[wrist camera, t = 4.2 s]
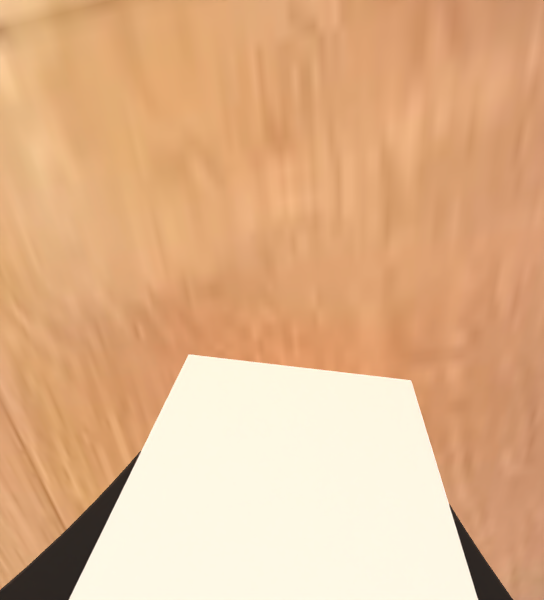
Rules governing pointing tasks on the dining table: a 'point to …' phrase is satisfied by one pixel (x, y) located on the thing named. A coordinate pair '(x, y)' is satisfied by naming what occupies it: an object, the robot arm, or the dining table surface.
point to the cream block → (281, 494)
